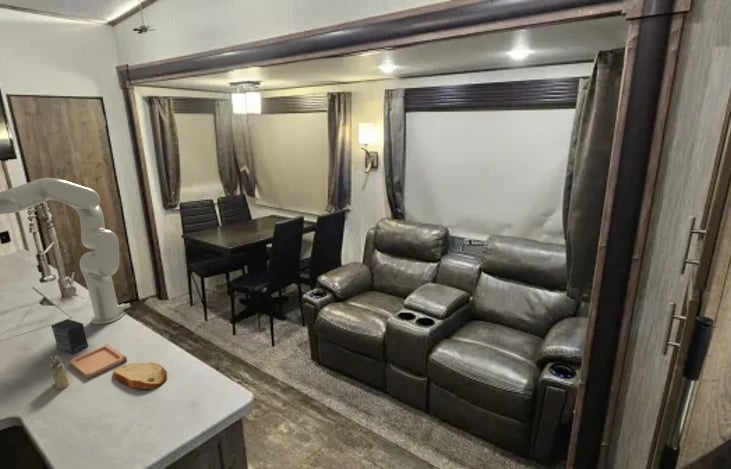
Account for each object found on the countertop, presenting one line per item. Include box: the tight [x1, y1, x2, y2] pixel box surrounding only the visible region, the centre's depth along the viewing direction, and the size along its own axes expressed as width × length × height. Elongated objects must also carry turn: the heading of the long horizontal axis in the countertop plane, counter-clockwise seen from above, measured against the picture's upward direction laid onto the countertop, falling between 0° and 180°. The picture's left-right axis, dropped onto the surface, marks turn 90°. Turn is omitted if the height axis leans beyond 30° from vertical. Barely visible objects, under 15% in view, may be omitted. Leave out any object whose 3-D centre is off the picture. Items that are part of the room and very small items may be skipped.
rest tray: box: [68, 343, 128, 380], centre depth 146 cm, size 13×16×2 cm
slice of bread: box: [112, 361, 168, 390], centre depth 136 cm, size 18×18×4 cm
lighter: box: [49, 355, 70, 390], centre depth 133 cm, size 7×4×10 cm, turn 45°
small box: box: [50, 318, 89, 355], centre depth 155 cm, size 11×6×10 cm, turn 65°
